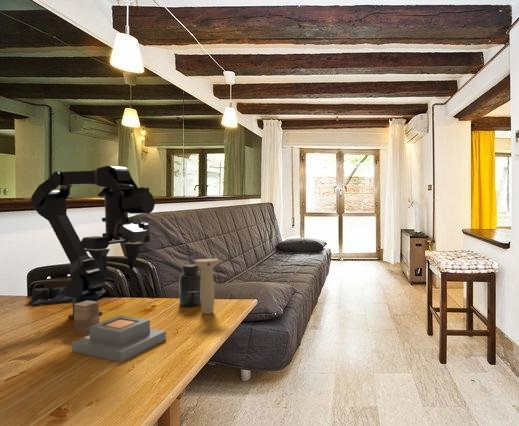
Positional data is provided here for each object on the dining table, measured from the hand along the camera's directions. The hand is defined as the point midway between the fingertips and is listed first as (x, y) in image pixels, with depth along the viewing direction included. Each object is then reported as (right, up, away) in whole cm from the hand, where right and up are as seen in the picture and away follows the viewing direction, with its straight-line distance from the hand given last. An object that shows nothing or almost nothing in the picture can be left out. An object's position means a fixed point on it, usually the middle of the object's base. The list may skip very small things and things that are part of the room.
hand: (118, 272), depth 109 cm
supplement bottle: (+17, -12, +16) cm, 26 cm away
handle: (+23, -13, +6) cm, 27 cm away
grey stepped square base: (+7, -14, -18) cm, 24 cm away
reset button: (+7, -12, -18) cm, 23 cm away
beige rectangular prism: (-5, -14, -8) cm, 16 cm away
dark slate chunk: (-25, -13, +26) cm, 38 cm away
